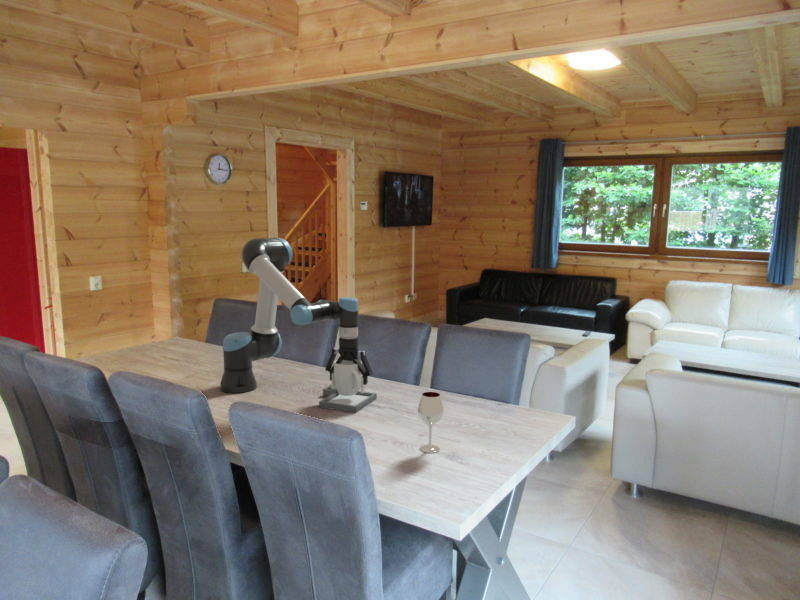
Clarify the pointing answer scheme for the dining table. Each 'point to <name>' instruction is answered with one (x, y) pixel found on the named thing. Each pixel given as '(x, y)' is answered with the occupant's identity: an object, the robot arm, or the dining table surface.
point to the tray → (348, 401)
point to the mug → (347, 377)
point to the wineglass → (430, 415)
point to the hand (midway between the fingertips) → (348, 390)
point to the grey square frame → (329, 392)
